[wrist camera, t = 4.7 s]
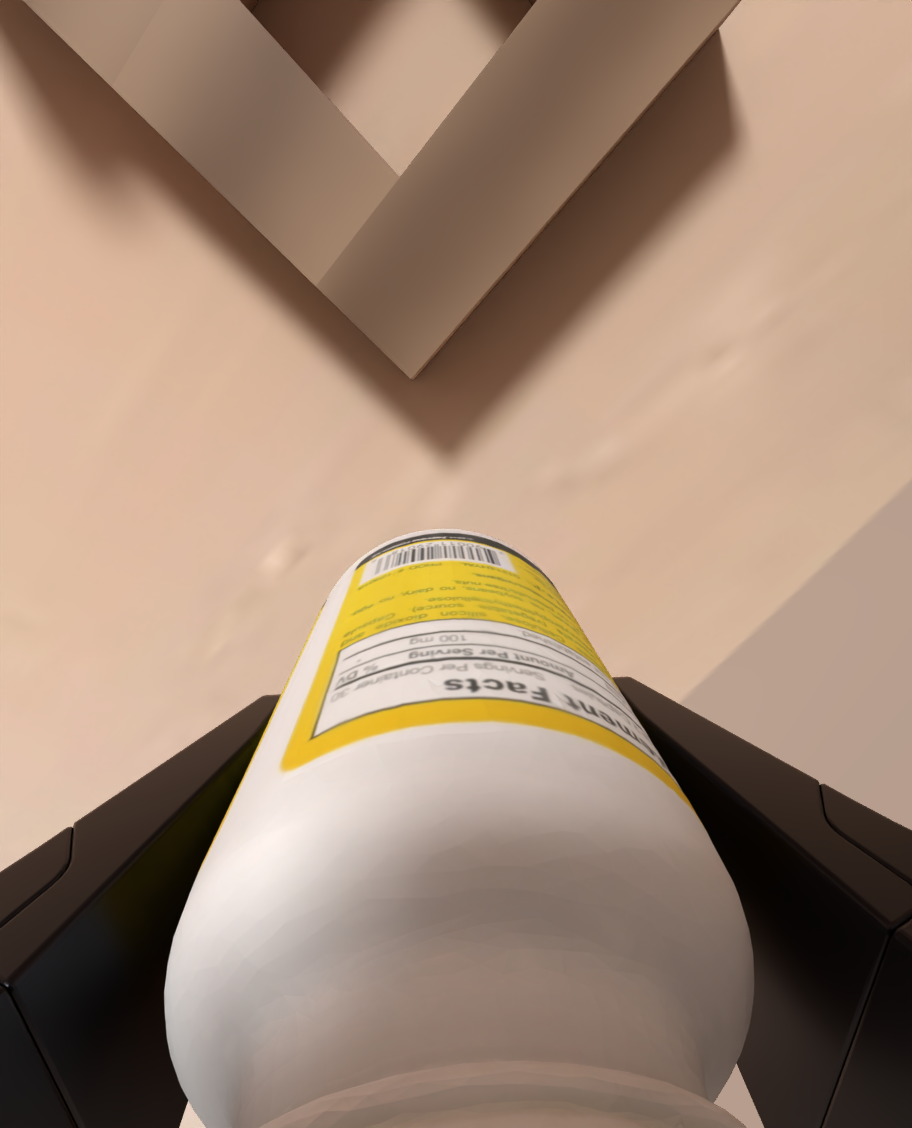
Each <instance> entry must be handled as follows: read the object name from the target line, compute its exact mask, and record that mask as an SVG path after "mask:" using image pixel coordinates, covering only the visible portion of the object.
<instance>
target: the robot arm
mask: <svg viewBox="0 0 912 1128" xmlns="http://www.w3.org/2000/svg"><path fill="white" fill-rule="evenodd" d="M612 679H613V680H614V682H615V684H616V685H617V687H618V688H619V690H620V692H621V694H622V695H623V697H624V698H625V700H626V701H627V703H628V704H629V706H630V708H631V709H632V711H633V713H634V715H635V716H636V718H637V719H638V721H639V722H640V724H641V725H642V727H643V728H644V730H645V732H646V733H647V735H648V737H649V739H650V740H651V742H652V744H653V745H654V747H655V748H656V750H657V751H658V753H659V755H660V756H661V758H662V760H663V761H664V763H665V764H666V766H667V768H668V769H669V771H670V772H671V774H672V775H673V777H674V778H675V780H676V781H677V783H678V785H679V786H680V788H681V790H682V792H683V793H684V795H685V796H686V797H687V799H688V800H689V802H690V804H691V805H692V807H693V809H694V811H695V812H696V814H697V816H698V817H699V819H700V821H701V822H702V824H703V826H704V828H705V829H706V831H707V833H708V835H709V837H710V839H711V841H712V843H713V845H714V847H715V849H716V851H717V853H718V855H719V856H720V858H721V860H722V862H723V864H724V866H725V868H726V870H727V871H728V873H729V875H730V877H731V879H732V881H733V883H734V885H735V888H736V890H737V893H738V895H739V898H740V902H741V905H742V908H743V911H744V915H745V918H746V921H747V924H748V928H749V931H750V937H751V943H752V949H753V960H754V998H753V1007H752V1014H751V1021H750V1025H749V1029H748V1032H747V1036H746V1039H745V1042H744V1045H743V1049H742V1052H741V1054H740V1056H739V1058H738V1060H737V1065H738V1068H739V1070H740V1072H741V1075H742V1077H743V1079H744V1082H745V1084H746V1086H747V1088H748V1090H749V1093H750V1095H751V1098H752V1100H753V1102H754V1105H755V1106H756V1109H757V1112H758V1114H759V1116H760V1118H761V1121H762V1123H763V1125H764V1128H912V830H910V829H908V828H906V827H904V826H902V825H900V824H898V823H896V822H894V821H892V820H890V819H888V818H886V817H884V816H882V815H881V814H879V813H877V812H875V811H873V810H871V809H869V808H867V807H866V806H864V805H862V804H860V803H858V802H856V801H854V800H852V799H851V798H849V797H847V796H845V795H843V794H841V793H840V792H838V791H836V790H834V789H833V788H830V787H829V786H827V785H825V784H821V785H819V782H818V780H816V779H814V778H812V777H811V776H809V775H807V774H805V773H803V772H802V771H800V770H798V769H796V768H794V767H792V766H791V765H789V764H787V763H785V762H783V761H782V760H780V759H778V758H776V757H774V756H772V755H771V754H769V753H767V752H765V751H763V750H762V749H759V748H758V747H756V746H754V745H753V744H751V743H749V742H747V741H745V740H744V739H742V738H740V737H738V736H736V735H734V734H733V733H731V732H729V731H727V730H725V729H724V728H722V727H720V726H718V725H716V724H714V723H713V722H711V721H709V720H707V719H705V718H704V717H702V716H700V715H698V714H696V713H695V712H692V711H691V710H689V709H687V708H685V707H684V706H682V705H680V704H678V703H676V702H675V701H673V700H671V699H669V698H667V697H665V696H664V695H662V694H660V693H658V692H656V691H655V690H653V689H651V688H649V687H647V686H646V685H644V684H642V683H640V682H638V681H636V680H635V679H633V678H631V677H612ZM280 696H281V695H265V696H262V697H261V698H259V699H258V700H256V701H255V702H253V703H252V704H250V705H249V706H247V707H246V708H244V709H243V710H241V711H240V712H238V713H237V714H235V715H234V716H232V717H231V718H229V719H228V720H226V721H225V722H223V723H222V724H220V725H219V726H218V727H216V728H215V729H213V730H212V731H210V732H209V733H207V734H206V735H204V736H203V737H201V738H200V739H198V740H197V741H195V742H194V743H192V744H191V745H189V746H188V747H186V748H185V749H183V750H182V751H180V752H179V753H177V754H176V755H175V756H173V757H172V758H170V759H169V760H167V761H166V762H164V763H163V764H161V765H160V766H158V767H157V768H155V769H154V770H152V771H151V772H149V773H148V774H146V775H145V776H143V777H142V778H140V779H139V780H137V781H136V782H134V783H133V784H131V785H130V786H128V787H127V788H126V789H124V790H123V791H121V792H120V793H118V794H117V795H115V796H114V797H112V798H111V799H109V800H108V801H106V802H105V803H103V804H102V805H100V806H99V807H97V808H96V809H94V810H93V811H91V812H90V813H88V814H87V815H85V816H84V817H82V818H81V819H80V820H78V821H77V822H75V823H74V825H73V828H72V827H67V828H66V829H64V830H63V831H62V832H60V833H59V834H57V835H56V836H54V837H53V838H51V839H50V840H48V841H47V842H45V843H44V844H42V845H41V846H39V847H38V848H36V849H35V850H33V851H32V852H30V853H29V854H27V855H26V856H24V857H23V858H21V859H19V860H18V861H16V862H15V863H13V864H12V865H10V866H9V867H7V868H6V869H4V870H3V871H1V872H0V1128H179V1126H180V1123H181V1120H182V1117H183V1114H184V1111H185V1108H186V1105H187V1102H188V1099H187V1097H186V1095H185V1093H184V1091H183V1089H182V1088H181V1085H180V1083H179V1080H178V1077H177V1074H176V1071H175V1068H174V1066H173V1063H172V1060H171V1057H170V1052H169V1047H168V1041H167V1033H166V1021H165V1003H164V989H165V982H166V974H167V965H168V960H169V956H170V951H171V946H172V942H173V937H174V934H175V932H176V929H177V926H178V924H179V921H180V918H181V916H182V913H183V910H184V908H185V905H186V902H187V900H188V897H189V894H190V892H191V889H192V887H193V884H194V882H195V880H196V877H197V875H198V872H199V870H200V867H201V865H202V863H203V861H204V859H205V857H206V854H207V852H208V850H209V848H210V846H211V844H212V842H213V840H214V838H215V835H216V833H217V831H218V829H219V827H220V825H221V823H222V821H223V819H224V816H225V814H226V812H227V810H228V808H229V806H230V804H231V802H232V800H233V798H234V795H235V793H236V791H237V789H238V787H239V785H240V783H241V781H242V779H243V777H244V775H245V772H246V770H247V768H248V766H249V764H250V761H251V759H252V757H253V755H254V753H255V751H256V748H257V746H258V744H259V742H260V740H261V738H262V735H263V733H264V731H265V729H266V727H267V725H268V722H269V720H270V718H271V716H272V713H273V711H274V709H275V707H276V705H277V702H278V700H279V698H280Z"/></svg>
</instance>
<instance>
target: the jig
mask: <svg viewBox="0 0 912 1128" xmlns="http://www.w3.org/2000/svg"><path fill="white" fill-rule="evenodd" d="M23 1H24V2H25V3H26V4H27V5H28V6H29V7H30V8H31V9H32V10H33V11H34V12H35V13H36V14H37V15H38V16H39V17H40V18H41V19H42V20H43V21H44V22H45V23H46V24H47V25H48V26H49V27H50V28H51V29H52V30H53V31H54V32H55V33H56V34H58V35H59V36H60V37H61V38H62V39H63V40H64V41H65V42H66V43H67V44H68V45H69V46H70V47H71V48H72V49H73V50H74V51H75V52H76V53H77V54H78V55H79V56H80V57H81V58H82V59H83V60H84V61H85V62H86V63H87V64H88V65H89V66H90V67H91V68H92V69H93V70H94V71H95V72H96V73H97V74H98V75H100V76H101V77H102V78H103V79H104V80H105V81H106V82H107V83H108V84H109V85H110V86H111V87H112V88H113V89H114V90H115V91H116V92H117V93H118V94H119V95H120V96H121V97H122V98H123V99H124V100H125V101H126V102H127V103H128V104H129V105H130V106H131V107H132V108H133V109H134V110H135V111H136V112H137V113H138V114H139V115H140V116H141V117H143V118H144V119H145V120H146V121H147V122H148V123H149V124H150V125H151V126H152V127H153V128H154V129H155V130H156V131H157V132H158V133H159V134H160V135H161V136H162V137H163V138H164V139H165V140H166V141H167V142H168V143H169V144H170V145H171V146H172V147H173V148H174V149H175V150H176V151H177V152H178V153H179V154H180V155H181V156H182V157H183V158H185V159H186V160H187V161H188V162H189V163H190V164H191V165H192V166H193V167H194V168H195V169H196V170H197V171H198V172H199V173H200V174H201V175H202V176H203V177H204V178H205V179H206V180H207V181H208V182H209V183H210V184H211V185H212V186H213V187H214V188H215V189H216V190H217V191H218V192H219V193H220V194H221V195H222V196H223V197H224V198H225V199H227V200H228V201H229V202H230V203H231V204H232V205H233V206H234V207H235V208H236V209H237V210H238V211H239V212H240V213H241V214H242V215H243V216H244V217H245V218H246V219H247V220H248V221H249V222H250V223H251V224H252V225H253V226H254V227H255V228H256V229H257V230H258V231H259V232H260V233H261V234H262V235H263V236H264V237H265V238H266V239H267V240H269V241H270V242H271V243H272V244H273V245H274V246H275V247H276V248H277V249H278V250H279V251H280V252H281V253H282V254H283V255H284V256H285V257H286V258H287V259H288V260H289V261H290V262H291V263H292V264H293V265H294V266H295V267H296V268H297V269H298V270H299V271H300V272H301V273H302V274H303V275H304V276H305V277H306V278H307V279H308V280H309V281H311V282H312V283H313V284H314V285H315V286H316V287H317V288H318V289H319V290H320V291H321V292H322V293H323V294H324V295H325V296H326V297H327V298H328V299H329V300H330V301H331V302H332V303H333V304H334V305H335V306H336V307H337V308H338V309H339V310H340V311H341V312H342V313H343V314H344V315H345V316H346V317H347V318H348V319H349V320H350V321H351V322H352V323H354V324H355V325H356V326H357V327H358V328H359V329H360V330H361V331H362V332H363V333H364V334H365V335H366V336H367V337H368V338H369V339H370V340H371V341H372V342H373V343H374V344H375V345H376V346H377V347H378V348H379V349H380V350H381V351H382V352H383V353H384V354H385V355H386V356H387V357H388V358H389V359H390V360H391V361H392V362H393V363H394V364H396V365H397V366H398V367H399V368H400V369H401V370H402V371H403V372H404V373H405V374H406V375H407V376H408V377H409V378H410V379H412V380H414V379H415V378H416V377H417V376H418V375H419V374H420V372H421V371H422V370H423V369H424V368H425V367H426V365H427V364H428V363H429V362H430V361H431V360H432V359H433V357H434V356H435V355H436V354H437V353H438V352H439V350H440V349H441V348H442V347H443V346H444V345H445V344H446V342H447V341H448V340H449V339H450V338H451V337H452V335H453V334H454V333H455V332H456V331H457V330H458V329H459V327H460V326H461V325H462V324H463V323H464V322H465V320H466V319H467V318H468V317H469V316H470V315H471V314H472V312H473V311H474V310H475V309H476V308H477V307H478V305H479V304H480V303H481V302H482V301H483V300H484V299H485V297H486V296H487V295H488V294H489V293H490V292H491V290H492V289H493V288H494V287H495V286H496V285H497V284H498V282H499V281H500V280H501V279H502V278H503V277H504V275H505V274H506V273H507V272H508V271H509V270H510V268H511V267H512V266H513V265H514V264H515V263H516V262H517V260H518V259H519V258H520V257H521V256H522V255H523V253H524V252H525V251H526V250H527V249H528V248H529V247H530V245H531V244H532V243H533V242H534V241H535V240H536V238H537V237H538V236H539V235H540V234H541V233H542V232H543V230H544V229H545V228H546V227H547V226H548V225H549V223H550V222H551V221H552V220H553V219H554V218H555V217H556V215H557V214H558V213H559V212H560V211H561V210H562V208H563V207H564V206H565V205H566V204H567V203H568V202H569V200H570V199H571V198H572V197H573V196H574V195H575V193H576V192H577V191H578V190H579V189H580V188H581V187H582V185H583V184H584V183H585V182H586V181H587V180H588V178H589V177H590V176H591V175H592V174H593V173H594V172H595V170H596V169H597V168H598V167H599V166H600V165H601V163H602V162H603V161H604V160H605V159H606V158H607V157H608V155H609V154H610V153H611V152H612V151H613V150H614V148H615V147H616V146H617V145H618V144H619V143H620V142H621V140H622V139H623V138H624V137H625V136H626V135H627V133H628V132H629V131H630V130H631V129H632V128H633V127H634V125H635V124H636V123H637V122H638V121H639V120H640V118H641V117H642V116H643V115H644V114H645V113H646V112H647V110H648V109H649V108H650V107H651V106H652V105H653V103H654V102H655V101H656V100H657V99H658V98H659V97H660V95H661V94H662V93H663V92H664V91H665V90H666V88H667V87H668V86H669V85H670V84H671V83H672V82H673V80H674V79H675V78H676V77H677V76H678V75H679V73H680V72H681V71H682V70H683V69H684V68H685V67H686V65H687V64H688V63H689V62H690V61H691V60H692V58H693V57H694V56H695V55H696V54H697V53H698V52H699V50H700V49H701V48H702V47H703V46H704V45H705V43H706V42H707V41H708V40H709V39H710V38H711V36H712V35H713V34H714V33H715V32H716V31H717V30H718V28H719V27H720V26H721V25H722V24H723V22H724V21H725V20H726V19H727V17H728V16H729V15H730V14H731V12H732V11H733V10H734V9H735V7H736V6H737V5H738V4H739V3H740V1H741V0H529V1H530V2H531V3H532V5H533V6H532V7H531V9H530V10H529V11H528V12H527V14H526V15H525V16H524V18H523V19H522V20H521V21H520V23H519V24H518V25H517V27H516V28H515V29H514V30H513V32H512V33H511V34H510V36H509V37H508V38H507V40H506V41H505V42H504V43H503V45H502V46H501V47H500V49H499V50H498V51H497V52H496V54H495V55H494V56H493V58H492V59H491V60H490V62H489V63H488V64H487V65H486V67H485V68H484V69H483V71H482V72H481V73H480V74H479V76H478V77H477V78H476V80H475V81H474V82H473V84H472V85H471V86H470V87H469V89H468V90H467V91H466V93H465V94H464V95H463V96H462V98H461V99H460V100H459V102H458V103H457V104H456V105H455V107H454V108H453V109H452V111H451V112H450V113H449V115H448V116H447V117H446V118H445V120H444V121H443V122H442V124H441V125H440V126H439V127H438V129H437V130H436V131H435V133H434V134H433V135H432V137H431V138H430V139H429V140H428V142H427V143H426V144H425V146H424V147H423V148H422V149H421V151H420V152H419V153H418V155H417V156H416V157H415V159H414V160H413V161H412V162H411V164H410V165H409V166H408V168H407V169H406V170H405V171H404V173H403V174H402V175H401V177H399V176H398V175H397V174H396V173H395V172H394V171H393V169H392V168H391V167H390V166H389V165H388V164H387V163H386V162H385V161H384V159H383V158H382V157H381V156H380V155H379V154H378V153H377V152H376V151H375V150H374V148H373V147H372V146H371V145H370V144H369V143H368V142H367V141H366V140H365V138H364V137H363V136H362V135H361V134H360V133H359V132H358V131H357V130H356V129H355V127H354V126H353V125H352V124H351V123H350V122H349V121H348V120H347V119H346V117H345V116H344V115H343V114H342V113H341V112H340V111H339V110H338V109H337V108H336V106H335V105H334V104H333V103H332V102H331V101H330V100H329V99H328V98H327V96H326V95H325V94H324V93H323V92H322V91H321V90H320V89H319V88H318V87H317V85H316V84H315V83H314V82H313V81H312V80H311V79H310V78H309V77H308V75H307V74H306V73H305V72H304V71H303V70H302V69H301V68H300V67H299V66H298V64H297V63H296V62H295V61H294V60H293V59H292V58H291V57H290V56H289V54H288V53H287V52H286V51H285V50H284V49H283V48H282V47H281V46H280V45H279V43H278V42H277V41H276V40H275V39H274V38H273V37H272V36H271V35H270V33H269V32H268V31H267V30H266V29H265V28H264V27H263V26H262V25H261V24H260V22H259V21H258V20H257V19H256V18H255V17H254V16H253V15H252V14H251V11H252V9H253V7H254V6H255V4H256V3H257V1H258V0H23Z"/></svg>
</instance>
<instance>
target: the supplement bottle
mask: <svg viewBox="0 0 912 1128" xmlns="http://www.w3.org/2000/svg"><path fill="white" fill-rule="evenodd" d="M753 998H754V960H753V949H752V943H751V937H750V931H749V928H748V924H747V921H746V918H745V915H744V911H743V908H742V905H741V902H740V898H739V895H738V893H737V890H736V888H735V885H734V883H733V881H732V879H731V877H730V875H729V873H728V871H727V870H726V868H725V866H724V864H723V862H722V860H721V858H720V856H719V855H718V853H717V851H716V849H715V847H714V845H713V843H712V841H711V839H710V837H709V835H708V833H707V831H706V829H705V828H704V826H703V824H702V822H701V821H700V819H699V817H698V816H697V814H696V812H695V811H694V809H693V807H692V805H691V804H690V802H689V800H688V799H687V797H686V796H685V795H684V793H683V792H682V790H681V788H680V786H679V785H678V783H677V781H676V780H675V778H674V777H673V775H672V774H671V772H670V771H669V769H668V768H667V766H666V764H665V763H664V761H663V760H662V758H661V756H660V755H659V753H658V751H657V750H656V748H655V747H654V745H653V744H652V742H651V740H650V739H649V737H648V735H647V733H646V732H645V730H644V728H643V727H642V725H641V724H640V722H639V721H638V719H637V718H636V716H635V715H634V713H633V711H632V709H631V708H630V706H629V704H628V703H627V701H626V700H625V698H624V697H623V695H622V694H621V692H620V690H619V688H618V687H617V685H616V684H615V682H614V680H613V679H612V677H611V675H610V674H609V672H608V671H607V669H606V667H605V666H604V664H603V663H602V661H601V660H600V658H599V657H598V655H597V653H596V652H595V650H594V648H593V646H592V645H591V643H590V642H589V640H588V638H587V637H586V635H585V634H584V632H583V630H582V629H581V627H580V625H579V624H578V622H577V621H576V619H575V618H574V616H573V614H572V613H571V611H570V610H569V608H568V606H567V605H566V603H565V602H564V600H563V599H562V597H561V595H560V594H559V593H558V591H557V589H556V588H555V586H554V585H553V583H552V582H551V581H550V579H549V578H548V577H547V576H546V575H545V574H544V573H543V572H542V570H541V569H540V568H539V567H538V566H537V565H536V564H535V563H533V562H532V561H531V560H530V559H529V558H527V557H526V556H525V555H523V554H522V553H521V552H519V551H518V550H516V549H515V548H513V547H512V546H510V545H508V544H506V543H504V542H503V541H500V540H498V539H495V538H493V537H490V536H488V535H484V534H480V533H476V532H472V531H467V530H459V529H431V530H423V531H418V532H412V533H409V534H405V535H402V536H399V537H396V538H394V539H391V540H389V541H387V542H385V543H383V544H381V545H379V546H377V547H376V548H374V549H372V550H371V551H369V552H368V553H366V554H365V555H364V556H362V557H361V558H360V559H358V560H357V561H356V562H355V563H354V564H353V565H352V566H351V567H350V568H349V569H348V570H347V571H346V572H345V573H344V574H343V576H342V577H341V578H340V579H339V581H338V582H337V584H336V585H335V587H334V588H333V590H332V591H331V593H330V595H329V597H328V598H327V600H326V602H325V604H324V605H323V607H322V609H321V611H320V613H319V615H318V617H317V619H316V621H315V623H314V625H313V628H312V630H311V632H310V634H309V636H308V638H307V640H306V643H305V645H304V647H303V649H302V651H301V653H300V656H299V658H298V660H297V662H296V664H295V667H294V669H293V671H292V673H291V675H290V677H289V679H288V681H287V683H286V685H285V687H284V690H283V692H282V694H281V696H280V698H279V700H278V702H277V705H276V707H275V709H274V711H273V713H272V716H271V718H270V720H269V722H268V725H267V727H266V729H265V731H264V733H263V735H262V738H261V740H260V742H259V744H258V746H257V748H256V751H255V753H254V755H253V757H252V759H251V761H250V764H249V766H248V768H247V770H246V772H245V775H244V777H243V779H242V781H241V783H240V785H239V787H238V789H237V791H236V793H235V795H234V798H233V800H232V802H231V804H230V806H229V808H228V810H227V812H226V814H225V816H224V819H223V821H222V823H221V825H220V827H219V829H218V831H217V833H216V835H215V838H214V840H213V842H212V844H211V846H210V848H209V850H208V852H207V854H206V857H205V859H204V861H203V863H202V865H201V867H200V870H199V872H198V875H197V877H196V880H195V882H194V884H193V887H192V889H191V892H190V894H189V897H188V900H187V902H186V905H185V908H184V910H183V913H182V916H181V918H180V921H179V924H178V926H177V929H176V932H175V934H174V937H173V942H172V946H171V951H170V956H169V960H168V965H167V974H166V982H165V989H164V1003H165V1021H166V1033H167V1041H168V1047H169V1052H170V1057H171V1060H172V1063H173V1066H174V1068H175V1071H176V1074H177V1077H178V1080H179V1083H180V1085H181V1088H182V1089H183V1091H184V1093H185V1095H186V1097H187V1099H188V1100H189V1102H190V1104H191V1106H192V1108H193V1110H194V1111H195V1113H196V1114H197V1115H198V1117H199V1118H200V1120H201V1121H202V1122H203V1124H204V1125H205V1127H206V1128H746V1127H745V1126H744V1124H742V1123H741V1122H740V1121H739V1120H738V1119H736V1118H735V1117H734V1116H732V1115H731V1114H730V1113H729V1112H727V1111H726V1110H725V1109H723V1108H721V1107H719V1106H717V1105H715V1104H713V1102H714V1101H715V1100H716V1098H717V1097H718V1095H719V1093H720V1092H721V1090H722V1088H723V1087H724V1085H725V1084H726V1082H727V1080H728V1079H729V1077H730V1075H731V1073H732V1071H733V1069H734V1067H735V1064H736V1063H737V1060H738V1058H739V1056H740V1054H741V1052H742V1049H743V1045H744V1042H745V1039H746V1036H747V1032H748V1029H749V1025H750V1021H751V1014H752V1007H753Z"/></svg>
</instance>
